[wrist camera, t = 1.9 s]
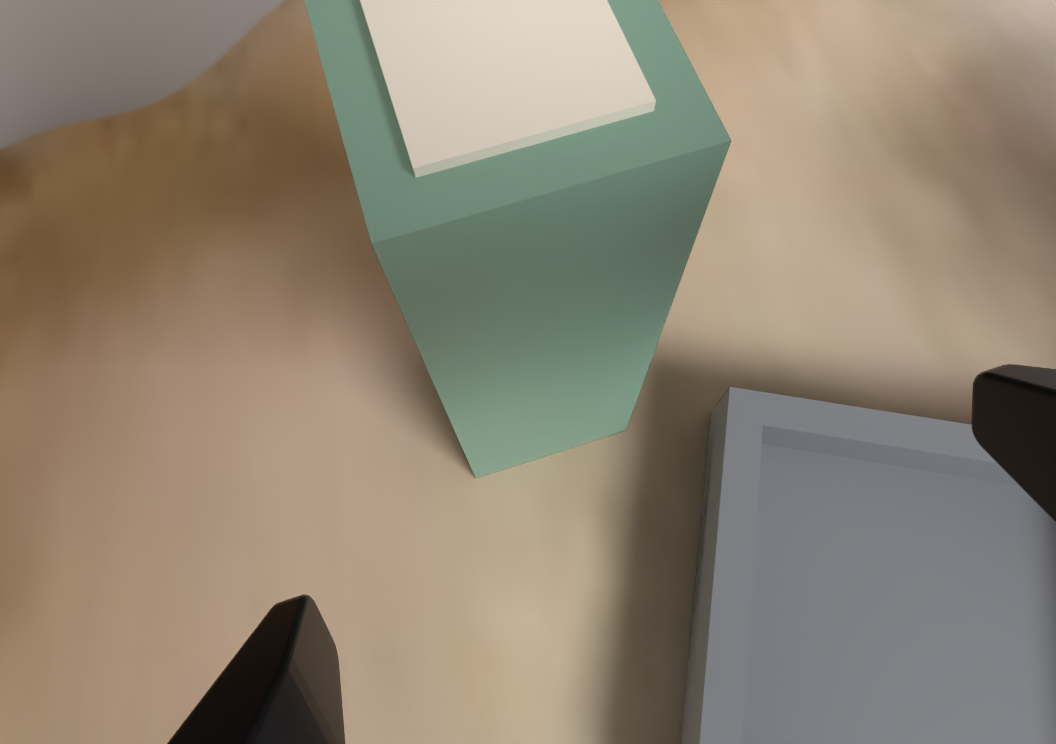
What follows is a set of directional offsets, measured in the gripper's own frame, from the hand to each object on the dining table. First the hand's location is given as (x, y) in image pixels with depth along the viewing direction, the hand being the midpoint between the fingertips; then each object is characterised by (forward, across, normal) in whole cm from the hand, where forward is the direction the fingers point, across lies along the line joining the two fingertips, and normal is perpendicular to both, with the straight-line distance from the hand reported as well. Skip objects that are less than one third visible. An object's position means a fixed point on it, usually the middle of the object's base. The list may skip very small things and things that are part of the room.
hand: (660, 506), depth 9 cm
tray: (+6, -8, +12) cm, 16 cm away
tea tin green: (+14, 0, +4) cm, 14 cm away
